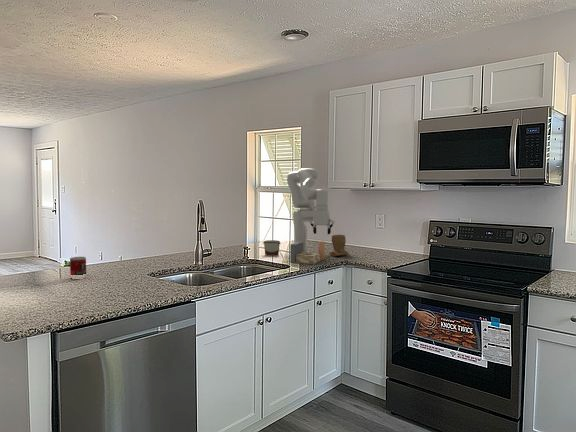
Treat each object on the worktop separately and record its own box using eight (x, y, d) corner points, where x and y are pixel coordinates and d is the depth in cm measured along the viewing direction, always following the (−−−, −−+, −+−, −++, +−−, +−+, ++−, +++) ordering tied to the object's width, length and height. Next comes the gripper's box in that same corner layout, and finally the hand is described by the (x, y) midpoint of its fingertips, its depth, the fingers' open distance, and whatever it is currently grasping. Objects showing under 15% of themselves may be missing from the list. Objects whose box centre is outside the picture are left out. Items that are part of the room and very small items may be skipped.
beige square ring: (302, 259, 296) (303, 252, 296) (319, 261, 291) (320, 253, 291) (295, 262, 286) (295, 254, 285) (313, 264, 281) (313, 256, 280)
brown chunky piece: (338, 253, 326) (338, 232, 325) (351, 255, 317) (351, 234, 316) (324, 255, 316) (324, 234, 314) (337, 257, 307) (338, 235, 306)
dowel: (319, 259, 300) (319, 241, 299) (325, 259, 298) (325, 241, 297) (317, 260, 296) (317, 242, 296) (323, 260, 295) (323, 242, 294)
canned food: (76, 280, 232) (75, 259, 231) (67, 278, 236) (66, 258, 235) (89, 278, 238) (89, 257, 237) (80, 276, 242) (80, 256, 242)
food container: (281, 254, 321) (281, 240, 320) (280, 255, 315) (280, 241, 314) (264, 253, 322) (264, 240, 321) (263, 255, 316) (263, 241, 315)
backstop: (299, 259, 299) (299, 241, 298) (303, 259, 297) (303, 241, 297) (290, 262, 286) (290, 244, 285) (294, 263, 285) (294, 244, 284)
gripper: (307, 208, 295) (307, 233, 296) (332, 208, 288) (332, 234, 289) (311, 207, 302) (311, 232, 303) (336, 207, 295) (336, 233, 295)
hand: (321, 233), depth 296 cm, fingers open, 9 cm apart
